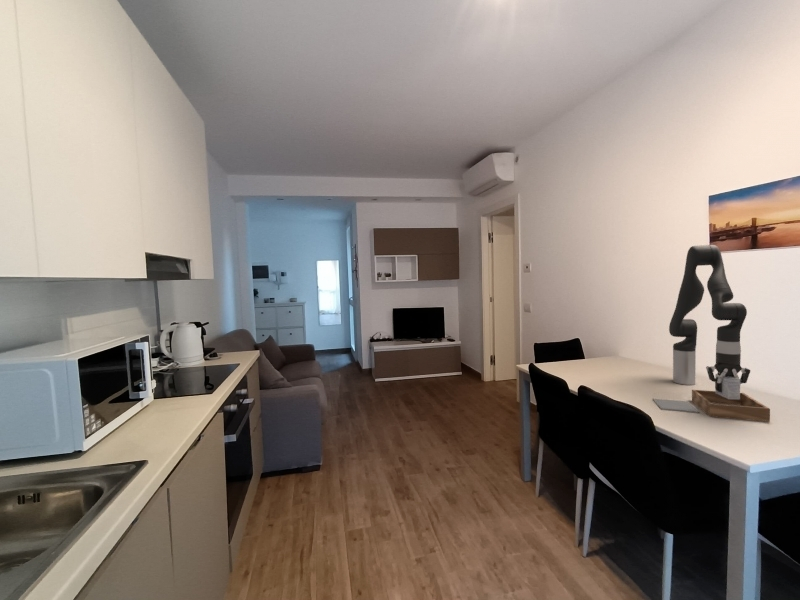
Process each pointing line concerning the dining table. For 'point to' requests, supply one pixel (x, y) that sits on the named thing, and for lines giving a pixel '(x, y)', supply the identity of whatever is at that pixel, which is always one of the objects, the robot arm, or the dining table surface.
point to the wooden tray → (730, 406)
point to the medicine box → (730, 388)
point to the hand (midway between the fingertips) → (727, 391)
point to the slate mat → (675, 405)
